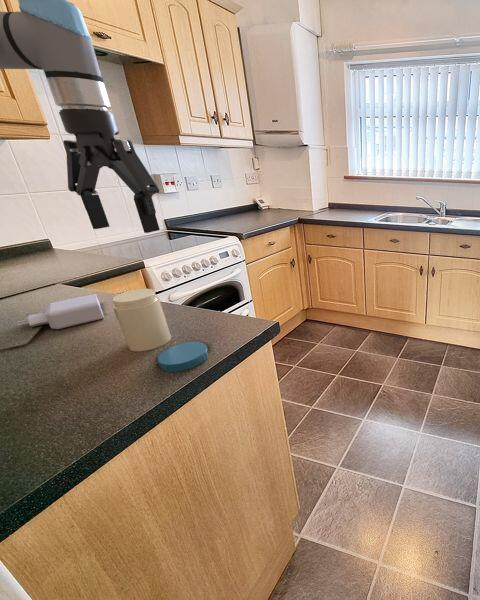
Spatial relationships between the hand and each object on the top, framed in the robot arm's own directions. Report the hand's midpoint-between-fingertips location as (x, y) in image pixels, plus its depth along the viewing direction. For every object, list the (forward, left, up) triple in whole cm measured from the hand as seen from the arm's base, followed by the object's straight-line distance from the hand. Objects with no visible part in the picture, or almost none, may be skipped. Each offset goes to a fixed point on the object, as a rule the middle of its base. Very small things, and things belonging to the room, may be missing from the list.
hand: (126, 229), depth 68 cm
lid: (+5, -14, -23) cm, 28 cm away
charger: (-22, +20, -25) cm, 39 cm away
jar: (-2, -2, -25) cm, 25 cm away
